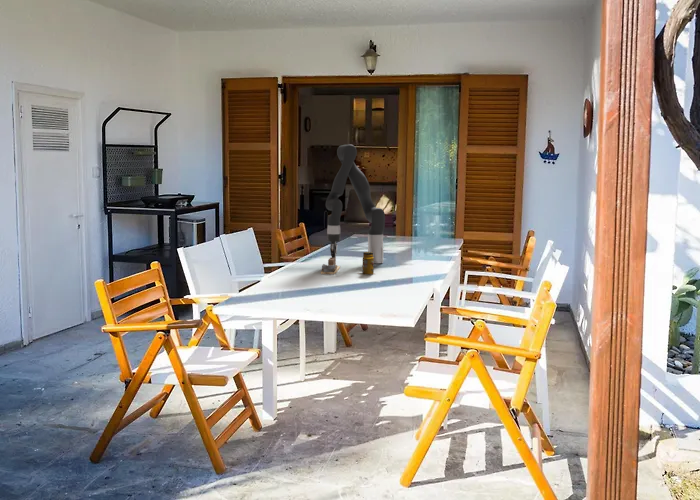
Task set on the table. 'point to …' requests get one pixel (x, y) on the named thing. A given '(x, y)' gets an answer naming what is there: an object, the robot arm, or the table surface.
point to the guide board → (329, 269)
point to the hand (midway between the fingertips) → (333, 262)
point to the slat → (332, 261)
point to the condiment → (368, 264)
